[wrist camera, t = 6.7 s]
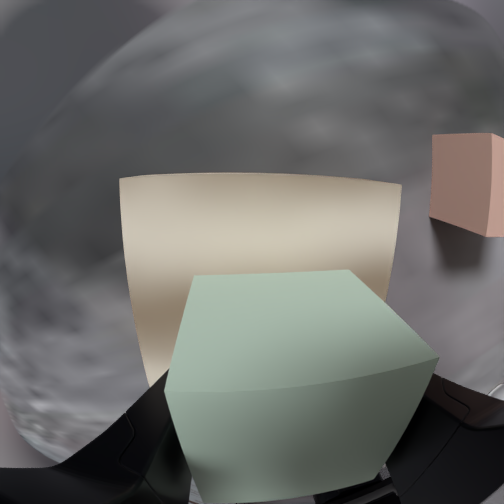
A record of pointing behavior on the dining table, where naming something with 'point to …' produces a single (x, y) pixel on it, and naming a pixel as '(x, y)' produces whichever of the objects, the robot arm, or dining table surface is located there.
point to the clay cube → (469, 182)
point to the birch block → (245, 238)
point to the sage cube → (291, 383)
